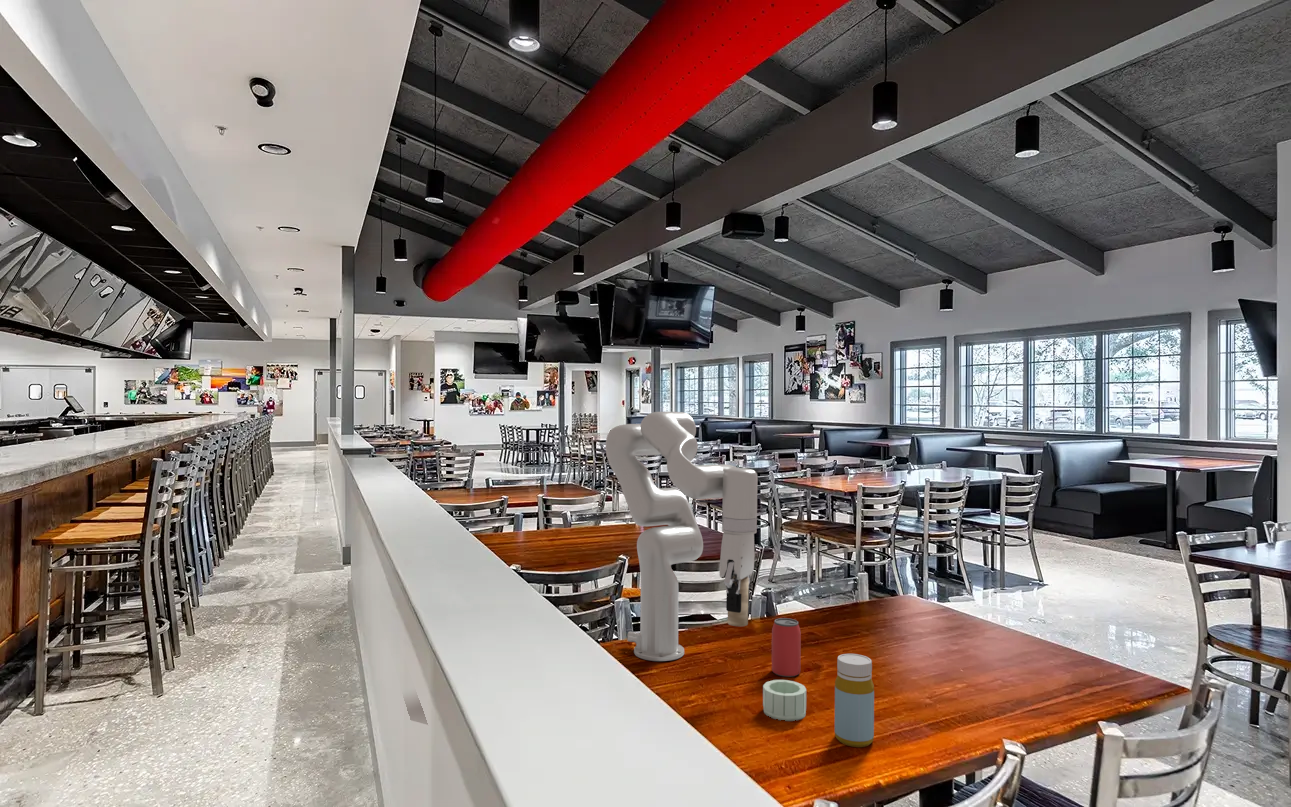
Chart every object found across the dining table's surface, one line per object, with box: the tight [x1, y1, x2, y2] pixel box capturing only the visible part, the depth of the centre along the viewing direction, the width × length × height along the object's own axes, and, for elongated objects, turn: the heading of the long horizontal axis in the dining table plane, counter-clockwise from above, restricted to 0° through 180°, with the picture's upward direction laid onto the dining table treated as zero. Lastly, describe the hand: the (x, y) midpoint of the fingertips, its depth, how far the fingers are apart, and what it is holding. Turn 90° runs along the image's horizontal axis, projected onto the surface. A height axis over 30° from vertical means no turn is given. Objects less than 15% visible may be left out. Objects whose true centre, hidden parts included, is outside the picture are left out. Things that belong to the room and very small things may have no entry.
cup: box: [762, 679, 807, 722], centre depth 148 cm, size 8×8×5 cm
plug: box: [727, 576, 750, 627], centre depth 159 cm, size 4×4×10 cm
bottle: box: [834, 653, 875, 748], centre depth 136 cm, size 7×7×15 cm
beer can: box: [771, 617, 802, 678], centre depth 170 cm, size 7×7×12 cm
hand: (737, 607), depth 159 cm, fingers closed on plug, 4 cm apart
